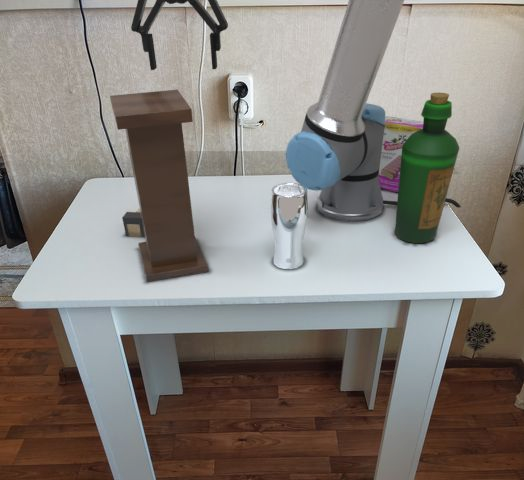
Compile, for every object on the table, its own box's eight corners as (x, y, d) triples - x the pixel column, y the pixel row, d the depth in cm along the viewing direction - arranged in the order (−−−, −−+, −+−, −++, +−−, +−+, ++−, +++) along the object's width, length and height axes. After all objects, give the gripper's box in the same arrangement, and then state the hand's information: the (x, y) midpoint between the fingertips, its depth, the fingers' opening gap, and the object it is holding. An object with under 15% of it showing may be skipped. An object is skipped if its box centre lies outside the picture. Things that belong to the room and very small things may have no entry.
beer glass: (264, 262, 104) (262, 190, 94) (286, 250, 108) (287, 179, 98) (290, 274, 100) (291, 200, 90) (312, 261, 104) (316, 188, 94)
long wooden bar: (156, 196, 131) (153, 179, 128) (173, 197, 131) (170, 180, 128) (125, 236, 114) (122, 217, 112) (144, 237, 114) (141, 218, 111)
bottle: (441, 249, 106) (473, 103, 89) (389, 245, 108) (410, 101, 91) (438, 226, 114) (467, 88, 97) (389, 223, 116) (409, 87, 99)
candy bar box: (369, 188, 132) (377, 120, 122) (377, 181, 136) (385, 115, 125) (411, 196, 127) (423, 127, 117) (418, 189, 131) (430, 121, 120)
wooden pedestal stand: (139, 249, 109) (109, 95, 91) (195, 240, 112) (177, 89, 93) (147, 282, 99) (115, 116, 80) (208, 271, 101) (191, 108, 83)
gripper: (237, -57, 102) (242, 64, 116) (113, -53, 104) (132, 65, 117) (233, -56, 96) (238, 71, 110) (102, -52, 98) (124, 72, 111)
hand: (184, 68), depth 113 cm, fingers open, 13 cm apart
